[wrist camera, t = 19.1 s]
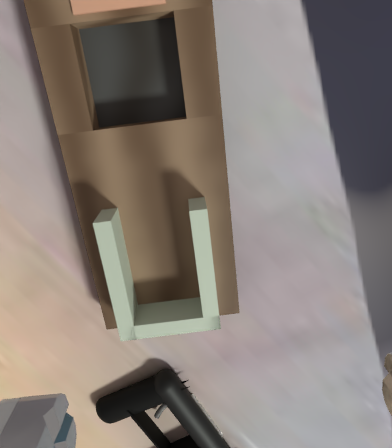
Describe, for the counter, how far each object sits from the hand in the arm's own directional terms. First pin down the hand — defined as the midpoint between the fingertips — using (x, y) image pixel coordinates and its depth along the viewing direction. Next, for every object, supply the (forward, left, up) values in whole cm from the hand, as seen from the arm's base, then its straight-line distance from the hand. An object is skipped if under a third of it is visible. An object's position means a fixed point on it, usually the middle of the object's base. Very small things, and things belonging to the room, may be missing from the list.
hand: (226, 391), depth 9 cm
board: (-4, +3, -27) cm, 28 cm away
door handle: (-8, -35, -28) cm, 45 cm away
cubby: (-4, -8, -24) cm, 26 cm away
